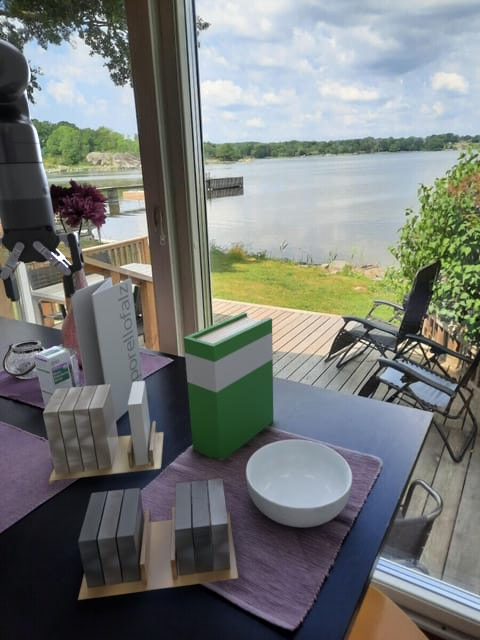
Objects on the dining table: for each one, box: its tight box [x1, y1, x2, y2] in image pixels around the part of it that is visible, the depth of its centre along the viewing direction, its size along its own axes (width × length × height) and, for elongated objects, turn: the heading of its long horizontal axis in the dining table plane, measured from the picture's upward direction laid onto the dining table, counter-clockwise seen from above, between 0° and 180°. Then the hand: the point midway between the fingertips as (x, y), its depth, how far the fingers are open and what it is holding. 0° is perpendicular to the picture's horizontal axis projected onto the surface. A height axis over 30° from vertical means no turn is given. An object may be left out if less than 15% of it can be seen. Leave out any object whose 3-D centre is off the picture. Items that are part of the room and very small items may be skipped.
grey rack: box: [77, 478, 239, 601], centre depth 63 cm, size 21×12×9 cm, turn 97°
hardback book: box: [183, 311, 274, 460], centre depth 89 cm, size 18×7×24 cm, turn 141°
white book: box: [127, 380, 152, 465], centre depth 85 cm, size 2×9×13 cm, turn 7°
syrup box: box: [33, 345, 77, 409], centre depth 104 cm, size 6×6×14 cm
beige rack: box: [42, 384, 165, 486], centre depth 84 cm, size 20×12×14 cm, turn 97°
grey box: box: [70, 276, 144, 422], centre depth 100 cm, size 14×6×30 cm, turn 161°
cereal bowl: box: [245, 439, 353, 528], centre depth 72 cm, size 17×17×7 cm
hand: (43, 298), depth 72 cm, fingers open, 8 cm apart
